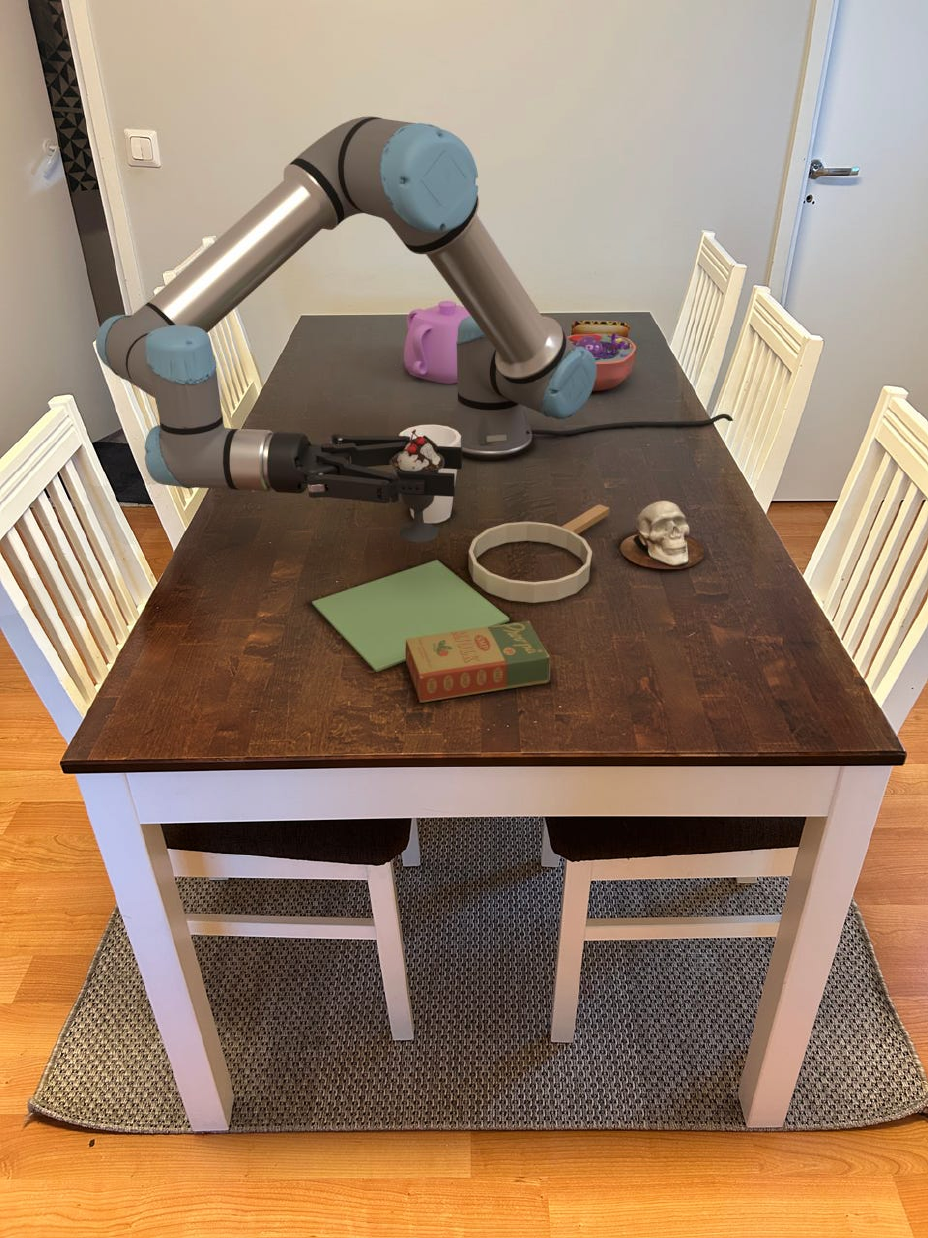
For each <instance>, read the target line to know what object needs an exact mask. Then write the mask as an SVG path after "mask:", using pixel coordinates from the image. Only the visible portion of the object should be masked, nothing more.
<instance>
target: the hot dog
mask: <svg viewBox="0 0 928 1238" xmlns="http://www.w3.org/2000/svg"><path fill="white" fill-rule="evenodd" d="M630 326H631V325H630V324H629V323H628V322H622V321H618V320H617V321H616V320H595V319H593V320H592V319H591V320H587V319H585V320H578V321H576V320H575V321H573V322H572V324H571V330H570V336H572V335H579V334H617V335H618V336H620V337H624V338H628V337H629V331H630V329H631V327H630Z"/></svg>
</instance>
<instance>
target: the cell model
mask: <svg viewBox="0 0 928 1238" xmlns="http://www.w3.org/2000/svg"><path fill="white" fill-rule="evenodd" d="M566 336H567V335H566ZM567 338H568V339H569V341H570V342H571V343H572V344H573V345H575V346H577V347H583V348H585V350H587V351H589V352H591V353H592V355H593V356H594V358H595V361H596V367H597V372H596V379H595V382H594V386H593V389H592V392H601V391H606V390H611V389H613V388H616V387H617V386H619V385H620V384H621V383H623V382H624V381H625V380H626V379H627V378H629V377H630V375H631V372H632V370H633V368H634V364H635V361H636V355H637V345H636V344H635V343H634V342H633V340H631V339H630V338H628V337H627V338H624V337H620V336H618V335H617V334H579V335H568V336H567Z"/></svg>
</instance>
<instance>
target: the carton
mask: <svg viewBox="0 0 928 1238" xmlns="http://www.w3.org/2000/svg"><path fill="white" fill-rule="evenodd" d="M405 654H406V661H405V663H406V666H407V669H408V671H409V674H410V677H411V681H412V683H413V686H414V689H415V692H416V695H417V698H418V702H419V703H421V704H422V703H427V702H435V701H440V700H446V699H452V698H459V697H465V696H471V695H478V694H483V693H489V692H497V691H503V690H510V689H517V688H524V687H531V686H540V685H545V684H547V683H549V682H551V658H550V657H551V656H550V654H549V653H548V652H547V650H546V648H545V647H544V644H543V643H542V642H541V640H540V638H539V636H538V635H537V633H536V631H535V629H534V627H533V625H532V623H531V622H530V620H523V621H517V622H515V621H514V622H510V623H503V624H500V625H495V626H489V627H482V628H475V629H469V630H462V631H455V632H448V633H442V634H435V635H428V636H421V637H415V638H408V639H406V646H405Z"/></svg>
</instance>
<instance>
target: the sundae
mask: <svg viewBox="0 0 928 1238" xmlns="http://www.w3.org/2000/svg"><path fill="white" fill-rule="evenodd" d="M415 432H416V430H415V429H414V431H412V433H413V434H412V436H411V441H410V442H409V443H408V444H407V445H406V447H405V449H404V451H401V452H399V453H398V454H396V455H395V456H394V457H393V458H392V459H391V460H390V464H391V465H390V466H391V467H392V468H393V469H394V470H395V472H396V475H398V478H399V472H400V470H402V471H420V472H438V471H439V470H440V469H442V468H443V467H444V464H445V462H444V458H443V456H442V455H440V454H439V453H435V452H436V450H437V444H435V443H434V442H433V441H432V440H430V439H429V438H428V437H426V436H425V435H424V436H423V437H418V436H417V435H416V434H415ZM413 435H415V436H416V437H417V438H416V439H413V440H412V437H413ZM400 497H401V500H402V503H403V504H404V505H405V506H406V507H408V509H409V510H410V509H412V510H413V511H414V519H413V521H412V523H408V524H405V525H404V526H402V527H401V528H400V529H399V536H400V538H402V539H403V540H404V541H406V542H409V543H414V544H422V543H423V544H424V543H427V542H431V541H433V540H435V539H436V538H437V537H438V536H439V530H438V528H437V527H436V526H434V525H433V524H432V523H424V521H423V511H424V510H425V509H426V508H428V507H429V506H430V505H431V504H432V502H433V501H434V496H430V495H412V494H400Z"/></svg>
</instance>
